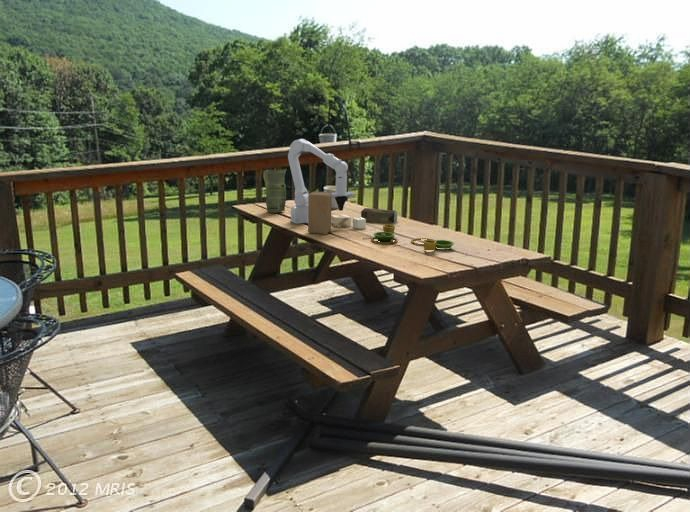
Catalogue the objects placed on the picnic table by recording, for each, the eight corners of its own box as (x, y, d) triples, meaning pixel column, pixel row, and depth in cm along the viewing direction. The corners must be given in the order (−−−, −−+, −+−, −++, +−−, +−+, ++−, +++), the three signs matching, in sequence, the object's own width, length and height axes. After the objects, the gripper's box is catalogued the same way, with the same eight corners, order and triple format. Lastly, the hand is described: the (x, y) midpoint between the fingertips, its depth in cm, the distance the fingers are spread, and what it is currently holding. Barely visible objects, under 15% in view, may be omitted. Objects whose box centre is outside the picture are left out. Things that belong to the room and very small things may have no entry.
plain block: (337, 227, 350) (337, 218, 349) (331, 224, 357) (331, 215, 356) (350, 226, 353) (351, 217, 352) (344, 223, 360) (344, 214, 359)
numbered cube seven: (357, 229, 347) (357, 219, 345) (352, 227, 351) (352, 217, 350) (365, 228, 349) (365, 218, 348) (361, 226, 353) (361, 216, 352)
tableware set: (359, 239, 327) (359, 226, 325) (402, 233, 342) (402, 220, 341) (415, 258, 294) (415, 244, 293) (459, 250, 310) (460, 236, 308)
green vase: (261, 212, 383) (261, 169, 377) (271, 209, 394) (271, 166, 388) (279, 214, 379) (278, 170, 373) (288, 210, 390) (288, 168, 384)
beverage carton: (394, 224, 361) (394, 212, 360) (360, 221, 366) (360, 209, 365) (397, 221, 369) (397, 209, 367) (363, 218, 374) (364, 207, 372)
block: (326, 234, 332) (327, 195, 327) (307, 233, 334) (307, 194, 329) (331, 230, 342) (332, 191, 336) (312, 229, 343) (312, 190, 338)
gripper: (332, 186, 344) (331, 212, 347) (356, 185, 350) (356, 210, 354) (326, 184, 350) (325, 210, 353) (350, 183, 356) (350, 208, 360)
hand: (340, 210), depth 354 cm, fingers closed
